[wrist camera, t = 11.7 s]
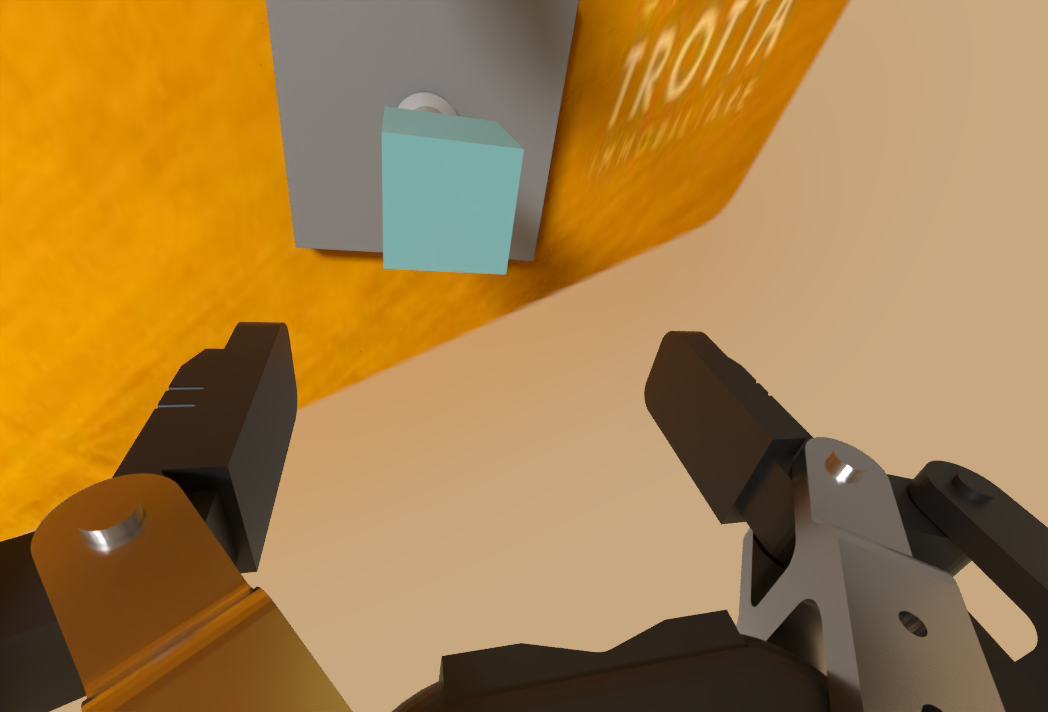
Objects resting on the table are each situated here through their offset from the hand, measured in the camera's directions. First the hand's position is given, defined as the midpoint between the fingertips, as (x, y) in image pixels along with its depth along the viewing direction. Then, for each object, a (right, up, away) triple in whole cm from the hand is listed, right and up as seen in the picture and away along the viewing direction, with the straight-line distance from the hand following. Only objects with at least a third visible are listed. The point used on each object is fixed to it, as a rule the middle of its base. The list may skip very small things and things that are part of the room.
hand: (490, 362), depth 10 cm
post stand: (-6, +17, +23) cm, 29 cm away
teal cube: (-3, +9, +13) cm, 16 cm away
